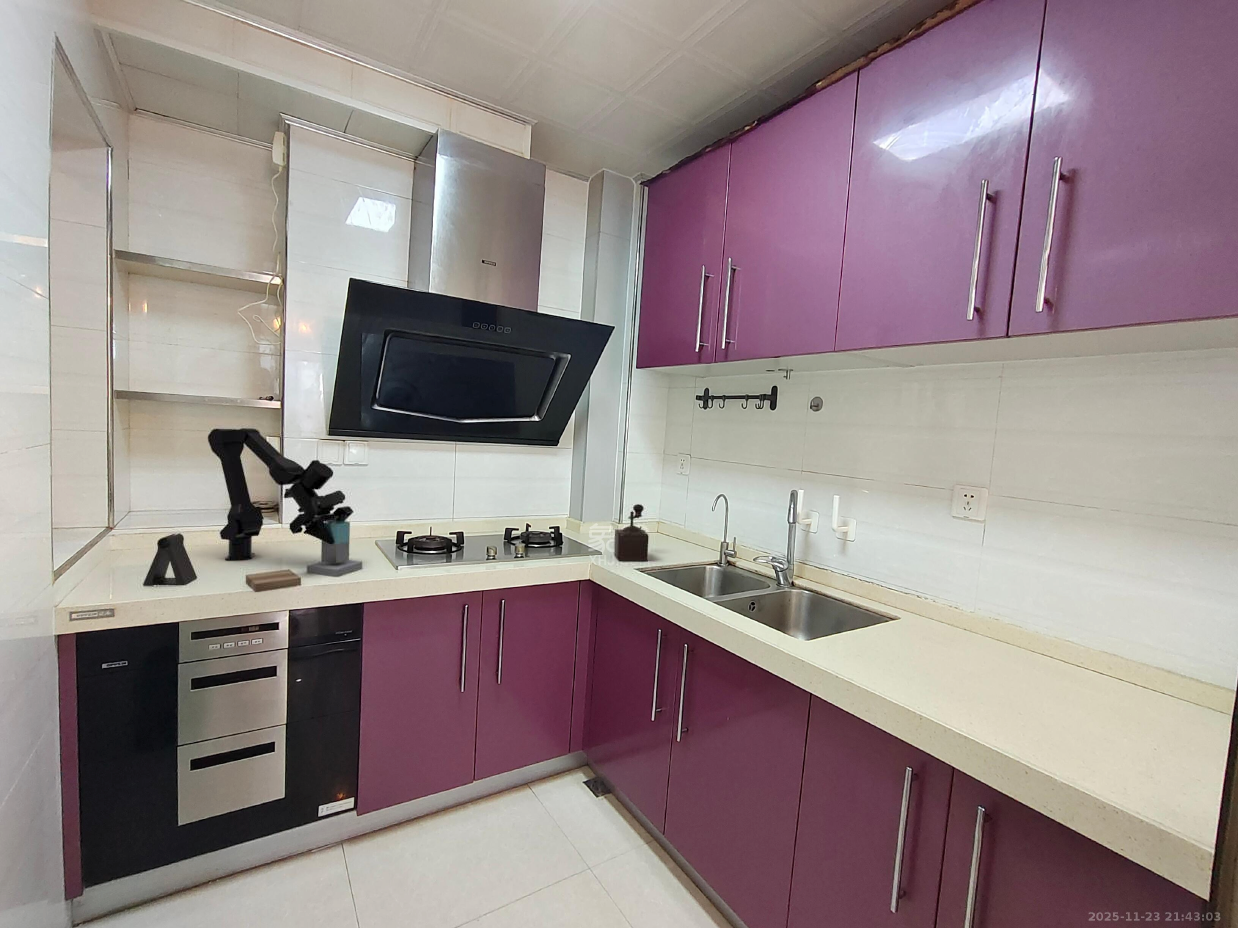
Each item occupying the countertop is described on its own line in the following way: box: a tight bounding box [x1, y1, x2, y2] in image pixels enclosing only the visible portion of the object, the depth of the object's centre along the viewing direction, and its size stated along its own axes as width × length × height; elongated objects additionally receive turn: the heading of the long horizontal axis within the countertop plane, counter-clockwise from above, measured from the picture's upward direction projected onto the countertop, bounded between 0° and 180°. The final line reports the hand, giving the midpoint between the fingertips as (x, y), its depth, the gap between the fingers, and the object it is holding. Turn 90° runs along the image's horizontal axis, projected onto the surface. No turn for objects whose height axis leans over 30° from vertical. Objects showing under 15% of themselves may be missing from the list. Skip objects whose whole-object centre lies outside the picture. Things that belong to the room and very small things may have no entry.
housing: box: [320, 520, 351, 563], centre depth 157 cm, size 5×5×11 cm
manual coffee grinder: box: [613, 503, 649, 563], centre depth 194 cm, size 16×11×18 cm
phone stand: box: [142, 532, 198, 587], centre depth 139 cm, size 9×6×12 cm, turn 104°
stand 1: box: [245, 569, 302, 593], centre depth 142 cm, size 10×10×2 cm
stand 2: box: [306, 559, 363, 578], centre depth 157 cm, size 10×10×2 cm
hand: (339, 541), depth 156 cm, fingers closed on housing, 5 cm apart
